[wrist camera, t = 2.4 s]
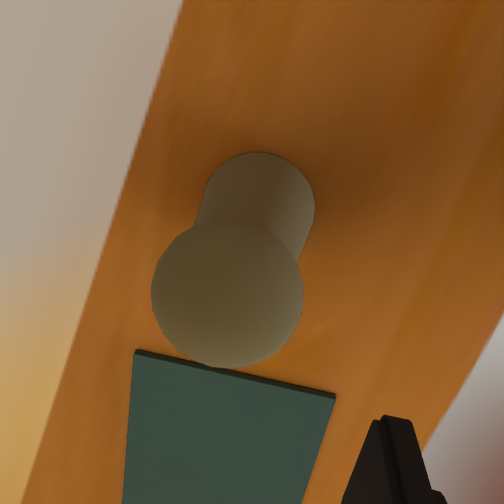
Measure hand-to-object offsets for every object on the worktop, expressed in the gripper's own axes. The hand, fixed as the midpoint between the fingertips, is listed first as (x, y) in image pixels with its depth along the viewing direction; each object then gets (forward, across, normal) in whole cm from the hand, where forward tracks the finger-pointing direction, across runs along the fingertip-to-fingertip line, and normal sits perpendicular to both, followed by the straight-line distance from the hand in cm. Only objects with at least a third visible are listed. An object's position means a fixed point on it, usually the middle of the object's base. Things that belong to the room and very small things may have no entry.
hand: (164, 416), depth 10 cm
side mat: (+15, -1, +20) cm, 25 cm away
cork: (+15, -1, 0) cm, 15 cm away
